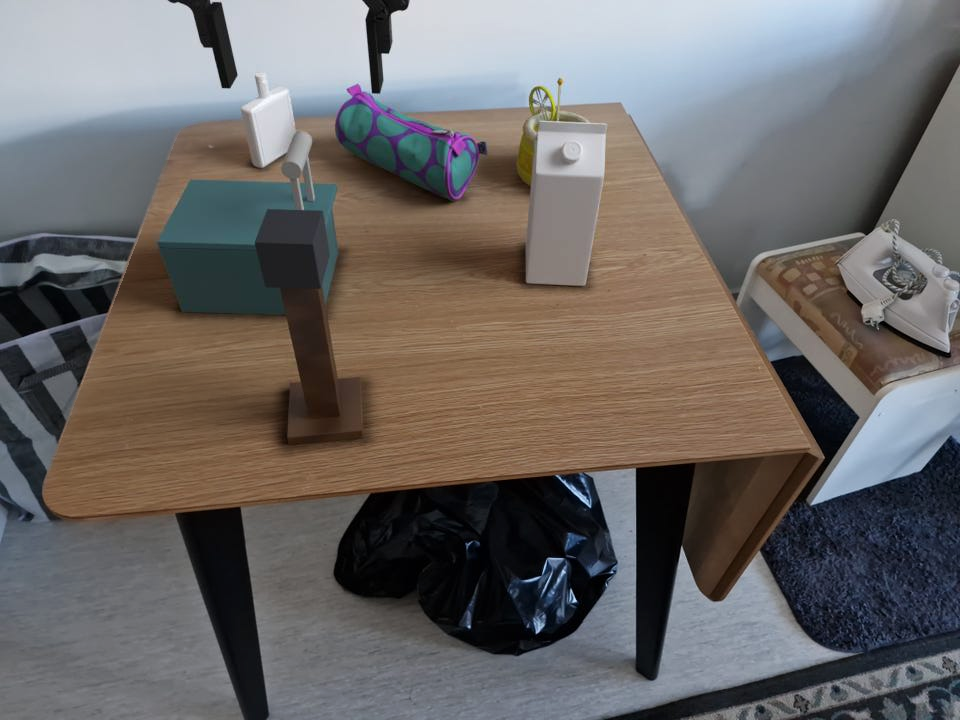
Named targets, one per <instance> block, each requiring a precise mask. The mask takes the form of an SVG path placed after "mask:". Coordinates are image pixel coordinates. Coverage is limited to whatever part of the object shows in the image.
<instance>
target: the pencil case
mask: <svg viewBox="0 0 960 720" xmlns="http://www.w3.org/2000/svg"><path fill="white" fill-rule="evenodd" d="M361 87H362V86H361V85H360V84H359V83H356V84H354V85H352V86H350V87H347V88H346V92H347V93H348V94H349V95H350V96H351V98H349V99H348V100H346V101H345V102H344V103H343V104H342V105H341V106H340V108H339V110H338V112H337V115H336V118H335V123H334V132H335V136H336V139H337V141H338V143H339V144H340V145H341V147H343V148H344V149H345V150H346V151H348V152H349V153H351V154H352V155H353V156H355V157H357V158H360V159H362V160H364V161H366V162H368V163H370V164H372V165H374V166H376V167H379V168H381V169H383V170H385V171H387V172H390V173H391V174H393V175H396V176H398V177H399V178H401V179H404V180H405V181H407V182H408V183H409V182H410V183H411V184H413V185H415V186H418V187H420V188H422V189H424V190H427V191H429V192H431V193H434V194H436V195H438V196H440V197H442V198H445V199H448V200H449V201H451V202H456V201H459V200H460V199H461V198H462V197H463V195H464V194H465V192H466V190H467V189H468V187H469V186H470V184H471V182H472V180H473V178H474V176H475V173H476V171H477V167H478V165H479V160H480V155H483V156H488V148H487V142H486V141H484V140H483V141H479V142H477V141H476V139H475V138H474V137H473V136H472V135H470V134H468V133H465V132H462V131H461V132H460V131H455V130H452V129H446V128H443V127H441V126H438V125H432V124H430V123H429V122H427V121H423V120H420V119H416V118H414V117H410V116H408V115H407V114H406V115H405V114H402V113H401V112H399V111H397V110H394V109H392V108H391V107H388V106H387V105H385V104H383V103H381V101H378V100H377V99H375V97H374V96H373V94H372V93H371V94H370V93H369V92H367V91H362V88H361Z"/></svg>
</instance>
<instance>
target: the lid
mask: <svg viewBox="0 0 960 720" xmlns="http://www.w3.org/2000/svg"><path fill="white" fill-rule="evenodd" d="M312 145H313V138H312V136H311V135H310V134H309V133H308V132H307V131H303V130H298V131H296V133H295V134H294V135H293V138H292V141H291V143H290V146H289V148H288V151H287V153H286V154H285V156H284V159H283V161H282V164H281V167H280V171H281V172H282V175H284V176H285V177H286V178H287V179H289V180H290V181H289V182H286V181H285V182H284V181H281V182H280V181H257V180H256V181H255V180H253V181H252V180H224V179H223V180H222V179H220V180H219V179H189V181H188V183H187V185H186V187H185V189H184V190H183V192H182V194H181V196H180V198H179V199H178V201H177V204H175V207H174V209H173V211H172V213H171V214H170V216H169V218H168V220H167V222H166V223H165V226H164V227H163V229H162V231H161V233H160V235H159V236H158V238H157V240H156V244H157V247H158V249H159V248H192V249H225V250H256V246H255V240H256V237H257V235H258V232H259V230H260V227H261V224H262V222H263V219H264V217H265V214H266V211H267V209H284V210H317V211H323V214H324V220H325V227H326V229H327V225H328V222H329V218H330V215H331V211H332V210H333V207H334V203H335V200H336V196H337V193H338V184H337V183H320V182H319V183H317V182H315V183H314V182H313V177H312V171H311V164H310V159H309V153H310V151H311V148H312ZM301 176H302V177H303V182H300V177H301Z"/></svg>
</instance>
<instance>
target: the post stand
mask: <svg viewBox="0 0 960 720" xmlns="http://www.w3.org/2000/svg"><path fill="white" fill-rule="evenodd" d="M280 291H281V296H282V300H283V305H284V309H285V314H286V315H285V318H286V321H287V327H288V331H289V335H290V341H291V344H292V345H291V346H292V350H293V353H294V358H295V362H296V367H297V371H298V375H299V379H300V381H298V382H297V381H296V382H290V383H289V392H288V393H289V394H288V395H289V396H288V413H287V414H288V415H287V431H286V439H287V442H288V445H289V446H292V445H302V444H304V445H305V444H315V443H323V442H336V441H346V440H357V439H363V438H364V420H363V395H362V394H363V393H362V392H363V391H362V380H361V376H356V377H344V378H343V377H342V378H339V377H338V371H337V365H336V359H335V352H334V347H333V343H332V336H331V330H330V324H329V320H328V313H327V312H328V311H327V306H326V305H325V300H324V294H323V288H322V287H321V289H304V288H280Z"/></svg>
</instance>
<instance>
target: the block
mask: <svg viewBox="0 0 960 720" xmlns="http://www.w3.org/2000/svg"><path fill="white" fill-rule="evenodd" d="M255 246H256V250H257V255H258V259H259V263H260V267H261V271H262V275H263V279H264V283H265V287H271V288H304V289H321V287H322V283H323V279H324V275H325V271H326V268H327V264H328V260H329V256H330V253H329V246H328V240H327V233H326V227H325V220H324V214H323V211H317V210H284V209H267V211H266V214H265V217H264V219H263V222H262V224H261V227H260V230H259V232H258V235H257V237H256V240H255Z"/></svg>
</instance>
